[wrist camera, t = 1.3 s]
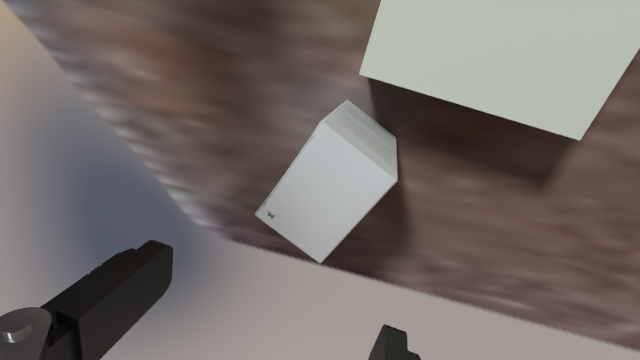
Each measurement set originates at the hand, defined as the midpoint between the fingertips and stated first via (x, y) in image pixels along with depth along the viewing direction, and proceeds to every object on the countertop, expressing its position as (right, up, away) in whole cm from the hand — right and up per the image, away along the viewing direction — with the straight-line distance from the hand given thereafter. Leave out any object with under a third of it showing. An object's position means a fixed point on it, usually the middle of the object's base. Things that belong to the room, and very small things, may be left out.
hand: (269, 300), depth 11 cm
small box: (+4, +7, +17) cm, 19 cm away
